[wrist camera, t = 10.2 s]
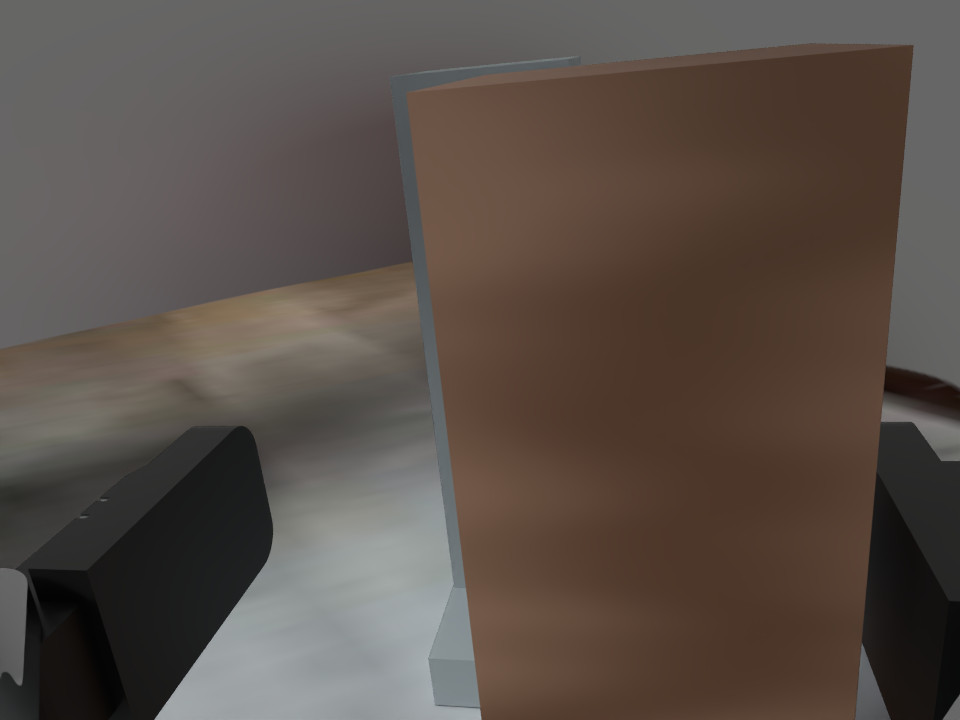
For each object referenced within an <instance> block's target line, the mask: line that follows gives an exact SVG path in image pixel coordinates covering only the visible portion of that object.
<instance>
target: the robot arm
mask: <svg viewBox="0 0 960 720" xmlns="http://www.w3.org/2000/svg"><path fill="white" fill-rule="evenodd" d="M272 539H273V523H272V517H271V513H270V508H269V503H268V498H267V494H266V489H265V484H264V480H263V475H262V470H261V466H260V461H259V456H258V452H257V447H256V443H255V440H254V437H253V435H252V433H251V432H250V431H249V429H247V428H246V427H244V426H196V427H192V428H190V429H189V430H187V431H186V432H185V433H184V434H183V435H182V436H180V437H179V438H178V439H177V440H176V441H175V442H174V443H172V444H171V445H170V446H169V447H168V448H167V449H165V450H164V451H163V452H162V453H161V454H160V455H159V456H157V457H156V458H155V459H154V460H153V461H152V462H150V463H149V464H148V465H146V466H144V467H142V468H140V469H139V470H137V471H135V472H133V473H131V474H129V475H127V476H125V477H124V478H123V479H121V480H120V481H119V482H118V483H117V484H116V485H114V486H113V487H112V488H111V489H110V490H109V491H107V492H106V493H105V494H104V495H103V496H101V501H96V502H94V503H93V504H92V505H91V506H90V507H88V508H87V509H86V510H85V511H84V512H83V513H81V518H80V519H74V520H73V521H72V522H71V523H70V524H68V525H67V526H66V527H65V528H64V529H63V530H61V531H60V532H59V533H58V534H57V535H55V536H54V537H53V538H52V539H51V540H50V541H48V542H47V543H46V544H45V545H44V546H43V547H41V548H40V549H39V550H38V551H37V552H35V553H34V554H33V555H32V556H31V557H30V558H28V559H27V560H26V561H25V562H24V563H22V564H21V565H20V566H19V567H18V568H17V569H15V570H14V569H8V568H0V720H154V719H155V718H156V716H157V715H158V714H159V712H160V711H161V709H162V708H163V707H164V705H165V704H166V702H167V701H168V700H169V698H170V697H171V695H172V694H173V692H174V691H175V690H176V688H177V687H178V685H179V684H180V683H181V681H182V680H183V678H184V677H185V676H186V674H187V673H188V671H189V670H190V669H191V667H192V666H193V664H194V663H195V662H196V660H197V659H198V657H199V656H200V655H201V653H202V652H203V650H204V649H205V648H206V646H207V645H208V643H209V642H210V641H211V639H212V638H213V636H214V635H215V634H216V632H217V631H218V629H219V628H220V627H221V625H222V624H223V622H224V621H225V620H226V618H227V617H228V615H229V614H230V613H231V611H232V610H233V608H234V607H235V606H236V604H237V603H238V601H239V600H240V599H241V597H242V596H243V594H244V593H245V592H246V590H247V589H248V587H249V586H250V585H251V583H252V582H253V580H254V579H255V578H256V576H257V575H258V573H259V572H260V571H261V569H262V568H263V566H264V565H265V563H266V561H267V559H268V557H269V554H270V550H271V546H272ZM862 644H863V646H864V649H865V652H866V654H867V657H868V660H869V662H870V665H871V668H872V670H873V673H874V676H875V678H876V681H877V684H878V686H879V689H880V692H881V695H882V697H883V700H884V703H885V705H886V708H887V711H888V713H889V716H890V719H891V720H960V461H941V460H940V459H939V458H938V456H937V455H936V453H935V452H934V451H933V449H932V448H931V446H930V445H929V444H928V442H927V441H926V439H925V438H924V437H923V435H922V434H921V433H920V431H919V430H918V428H917V427H916V426H915V425H914V423H912V422H881V425H880V436H879V448H878V459H877V471H876V482H875V494H874V505H873V517H872V528H871V540H870V551H869V563H868V574H867V586H866V597H865V609H864V620H863V632H862Z"/></svg>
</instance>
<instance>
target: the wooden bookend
mask: <svg viewBox="0 0 960 720" xmlns="http://www.w3.org/2000/svg"><path fill="white" fill-rule="evenodd" d="M912 57H913V45H874V44H873V45H871V44H868V45H867V44H815V43H813V44H812V43H810V44H800V45H789V46H779V47H769V48H758V49H749V50H737V51H727V52H717V53H707V54H696V55H686V56H675V57H666V58H654V59H644V60H634V61H624V62H613V63H603V64H592V65H583V66H571V67H561V68H551V69H540V70H530V71H520V72H509V73H499V74H488V75H483V76H478V77H474V78H469V79H465V80H461V81H456V82H452V83H447V84H443V85H438V86H434V87H429V88H425V89H420V90H416V91H412V92H407V93H406V96H407V104H408V112H409V120H410V129H411V137H412V145H413V154H414V162H415V170H416V179H417V187H418V195H419V203H420V212H421V220H422V228H423V237H424V245H425V253H426V262H427V270H428V278H429V286H430V295H431V303H432V311H433V320H434V328H435V336H436V345H437V353H438V361H439V369H440V378H441V386H442V394H443V403H444V411H445V419H446V428H447V436H448V444H449V452H450V461H451V469H452V477H453V486H454V494H455V502H456V511H457V519H458V527H459V535H460V544H461V552H462V560H463V569H464V577H465V585H466V594H467V602H468V610H469V618H470V627H471V635H472V643H473V652H474V660H475V668H476V677H477V685H478V693H479V701H480V710H481V718H482V720H855V712H856V701H857V689H858V678H859V666H860V655H861V643H862V632H863V620H864V609H865V597H866V586H867V574H868V563H869V551H870V540H871V528H872V517H873V505H874V494H875V482H876V471H877V459H878V448H879V436H880V425H881V413H882V402H883V390H884V379H885V367H886V356H887V344H888V333H889V321H890V310H891V298H892V287H893V275H894V264H895V252H896V241H897V228H898V218H899V206H900V195H901V183H902V172H903V160H904V149H905V137H906V125H907V114H908V102H909V91H910V80H911V68H912Z"/></svg>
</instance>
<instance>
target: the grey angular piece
mask: <svg viewBox="0 0 960 720" xmlns="http://www.w3.org/2000/svg"><path fill="white" fill-rule="evenodd" d="M571 66H581V56H574V57H565V58H554V59H544V60H534V61H524V62H514V63H504V64H494V65H483V66H473V67H464V68H453V69H443V70H433V71H426V72H419V73H412V74H405V75H398V76H391V77H390V83H391V90H392V99H393V106H394V114H395V123H396V130H397V138H398V146H399V154H400V162H401V169H402V177H403V186H404V194H405V202H406V209H407V217H408V225H409V232H410V241H411V249H412V257H413V265H414V273H415V281H416V289H417V297H418V304H419V312H420V320H421V328H422V336H423V344H424V352H425V360H426V368H427V376H428V384H429V391H430V399H431V407H432V415H433V423H434V431H435V439H436V447H437V455H438V463H439V471H440V478H441V486H442V494H443V502H444V510H445V518H446V526H447V534H448V542H449V550H450V558H451V565H452V573H453V581H454V585H453V587H452V590H451V593H450V596H449V599H448V602H447V605H446V608H445V611H444V614H443V617H442V620H441V623H440V626H439V629H438V632H437V635H436V637H435V640H434V643H433V646H432V649H431V652H430V655H429V658H428V659H429V666H430V673H431V680H432V687H433V694H434V700H435V705H446V706H462V707H477V708H480V701H479V693H478V685H477V677H476V668H475V660H474V652H473V643H472V635H471V627H470V618H469V610H468V602H467V594H466V585H465V577H464V569H463V560H462V552H461V544H460V535H459V527H458V519H457V511H456V502H455V494H454V486H453V477H452V469H451V461H450V452H449V444H448V436H447V428H446V419H445V411H444V403H443V394H442V386H441V378H440V369H439V361H438V353H437V345H436V336H435V328H434V320H433V311H432V303H431V295H430V286H429V278H428V270H427V262H426V253H425V245H424V237H423V228H422V220H421V212H420V203H419V195H418V187H417V179H416V170H415V162H414V154H413V145H412V137H411V129H410V120H409V112H408V104H407V96H406V93H407V92H412V91H416V90H420V89H425V88H429V87H434V86H438V85H443V84H447V83H452V82H456V81H461V80H465V79H469V78H474V77H478V76H483V75H488V74H499V73H509V72H520V71H530V70H540V69H551V68H561V67H571Z"/></svg>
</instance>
